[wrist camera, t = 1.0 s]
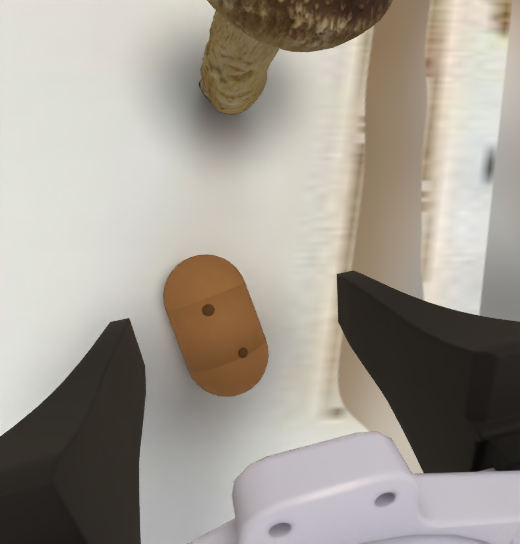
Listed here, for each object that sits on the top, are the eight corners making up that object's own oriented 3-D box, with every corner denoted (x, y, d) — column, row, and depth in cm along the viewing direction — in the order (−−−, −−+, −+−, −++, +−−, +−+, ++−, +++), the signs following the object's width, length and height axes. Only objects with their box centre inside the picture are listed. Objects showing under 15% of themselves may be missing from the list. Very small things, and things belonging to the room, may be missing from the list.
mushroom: (129, 124, 26) (130, -93, 11) (173, 5, 27) (223, -324, 13) (268, 181, 28) (410, 61, 14) (301, 69, 30) (463, -145, 15)
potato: (265, 368, 27) (293, 382, 23) (196, 400, 26) (211, 422, 21) (220, 248, 27) (240, 237, 22) (149, 273, 26) (153, 268, 21)
